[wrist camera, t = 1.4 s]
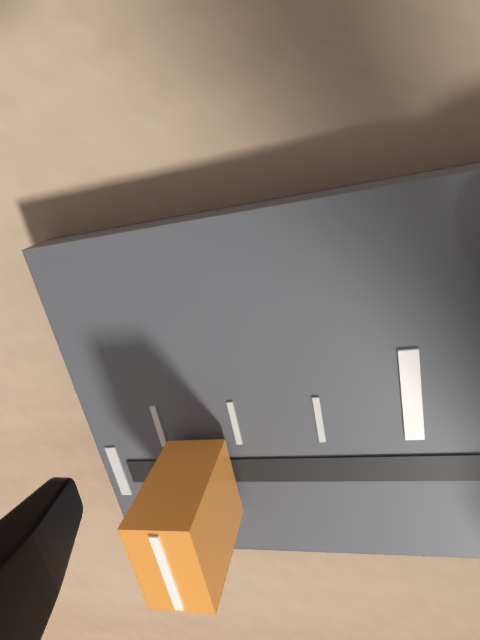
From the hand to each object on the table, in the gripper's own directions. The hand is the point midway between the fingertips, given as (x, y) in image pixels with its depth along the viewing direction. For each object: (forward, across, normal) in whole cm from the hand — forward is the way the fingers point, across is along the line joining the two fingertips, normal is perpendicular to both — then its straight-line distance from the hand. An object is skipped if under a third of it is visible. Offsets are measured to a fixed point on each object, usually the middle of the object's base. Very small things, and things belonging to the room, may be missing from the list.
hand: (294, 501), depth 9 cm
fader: (+10, +5, +10) cm, 15 cm away
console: (+12, -2, +6) cm, 13 cm away
